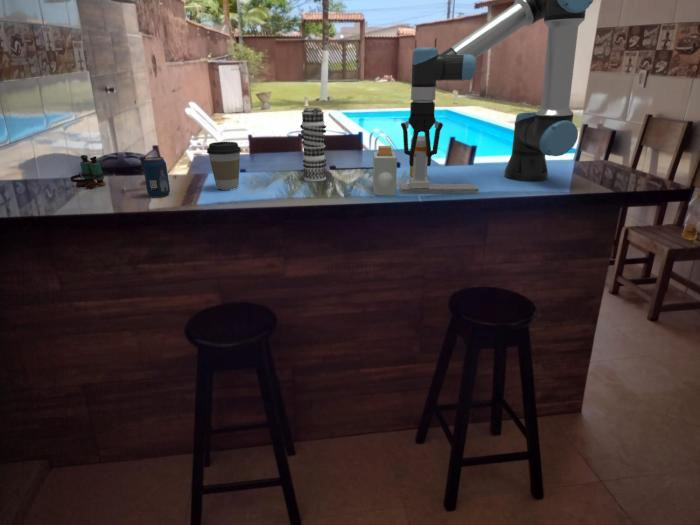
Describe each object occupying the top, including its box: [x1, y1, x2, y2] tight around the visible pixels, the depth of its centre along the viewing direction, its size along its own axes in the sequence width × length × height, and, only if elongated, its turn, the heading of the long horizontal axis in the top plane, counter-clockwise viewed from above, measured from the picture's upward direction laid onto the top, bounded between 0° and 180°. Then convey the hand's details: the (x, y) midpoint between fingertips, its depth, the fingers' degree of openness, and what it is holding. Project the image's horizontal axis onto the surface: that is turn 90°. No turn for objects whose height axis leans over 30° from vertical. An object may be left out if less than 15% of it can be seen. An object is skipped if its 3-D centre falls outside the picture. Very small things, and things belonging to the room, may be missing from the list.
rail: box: [399, 183, 479, 194], centre depth 165 cm, size 25×7×2 cm, turn 89°
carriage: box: [408, 152, 431, 188], centre depth 163 cm, size 6×7×11 cm
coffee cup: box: [206, 141, 242, 191], centre depth 168 cm, size 11×11×15 cm
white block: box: [372, 151, 398, 196], centre depth 163 cm, size 7×12×12 cm, turn 179°
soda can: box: [142, 156, 171, 198], centre depth 160 cm, size 7×7×12 cm
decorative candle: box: [299, 107, 327, 182], centre depth 179 cm, size 9×9×25 cm
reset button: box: [377, 145, 392, 156], centre depth 161 cm, size 4×4×5 cm
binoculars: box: [70, 154, 106, 190], centre depth 172 cm, size 9×11×10 cm
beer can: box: [409, 135, 427, 178], centre depth 181 cm, size 6×6×15 cm
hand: (419, 175), depth 164 cm, fingers closed on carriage, 3 cm apart
